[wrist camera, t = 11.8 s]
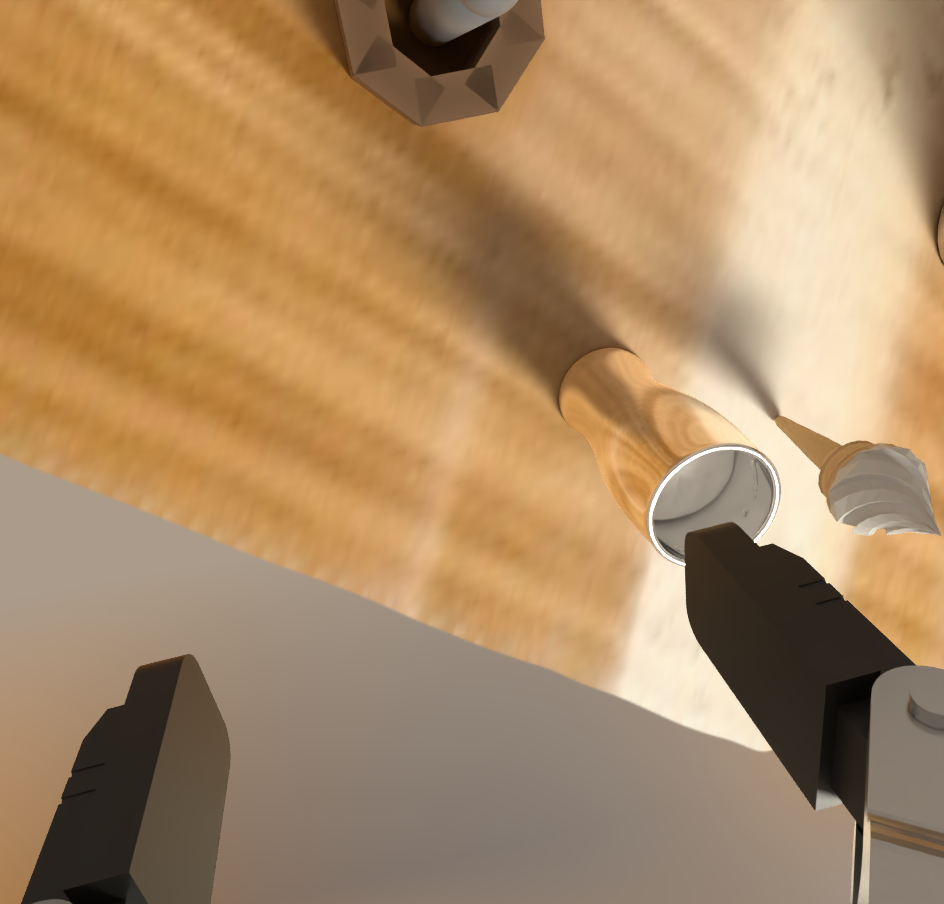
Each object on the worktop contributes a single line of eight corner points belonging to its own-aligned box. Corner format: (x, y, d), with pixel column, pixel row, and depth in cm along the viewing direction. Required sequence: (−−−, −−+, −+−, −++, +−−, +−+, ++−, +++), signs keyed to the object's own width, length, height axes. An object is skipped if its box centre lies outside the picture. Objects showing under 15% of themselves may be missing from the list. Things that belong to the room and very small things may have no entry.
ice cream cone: (828, 390, 49) (1012, 496, 36) (792, 462, 52) (954, 588, 38) (760, 373, 48) (927, 477, 35) (726, 448, 50) (870, 573, 37)
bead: (505, -108, 34) (526, -132, 31) (530, 101, 38) (551, 101, 35) (317, -76, 33) (316, -97, 30) (363, 134, 38) (367, 137, 34)
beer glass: (560, 337, 44) (660, 438, 31) (665, 342, 46) (804, 441, 32) (544, 440, 47) (629, 573, 34) (643, 442, 49) (762, 571, 35)
